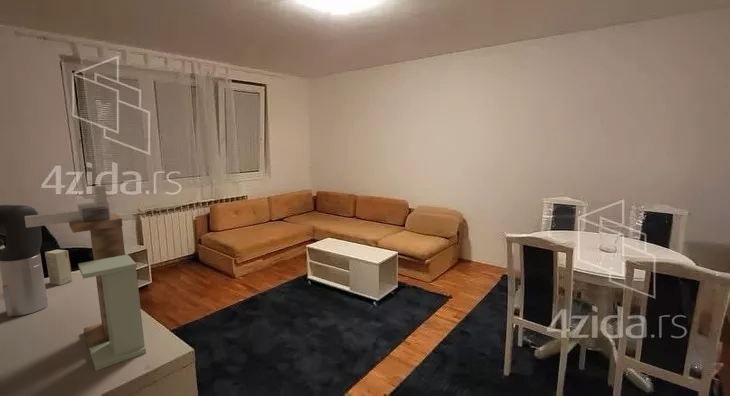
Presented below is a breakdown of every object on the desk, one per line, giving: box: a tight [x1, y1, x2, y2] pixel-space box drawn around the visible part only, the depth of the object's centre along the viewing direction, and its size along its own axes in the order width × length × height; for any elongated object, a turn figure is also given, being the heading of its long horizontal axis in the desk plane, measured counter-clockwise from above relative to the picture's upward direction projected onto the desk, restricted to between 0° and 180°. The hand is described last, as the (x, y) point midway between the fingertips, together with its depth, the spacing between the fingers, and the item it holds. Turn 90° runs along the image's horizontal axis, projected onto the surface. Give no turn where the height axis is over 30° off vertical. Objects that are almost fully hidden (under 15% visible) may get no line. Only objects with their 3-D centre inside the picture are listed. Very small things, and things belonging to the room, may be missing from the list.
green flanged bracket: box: [77, 254, 147, 371], centre depth 85 cm, size 10×10×23 cm
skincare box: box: [44, 249, 73, 286], centre depth 131 cm, size 6×4×12 cm
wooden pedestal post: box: [68, 207, 126, 348], centre depth 93 cm, size 10×10×35 cm
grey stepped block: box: [25, 185, 111, 228], centre depth 87 cm, size 16×4×8 cm, turn 134°
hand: (0, 243), depth 80 cm, fingers open, 8 cm apart
